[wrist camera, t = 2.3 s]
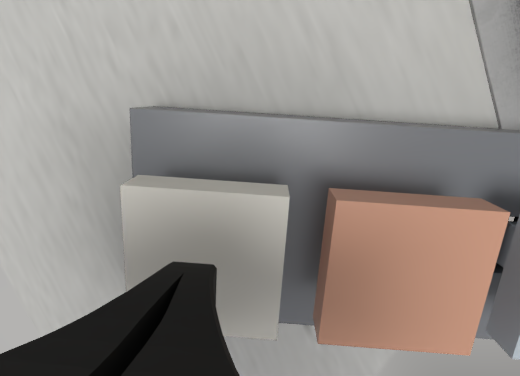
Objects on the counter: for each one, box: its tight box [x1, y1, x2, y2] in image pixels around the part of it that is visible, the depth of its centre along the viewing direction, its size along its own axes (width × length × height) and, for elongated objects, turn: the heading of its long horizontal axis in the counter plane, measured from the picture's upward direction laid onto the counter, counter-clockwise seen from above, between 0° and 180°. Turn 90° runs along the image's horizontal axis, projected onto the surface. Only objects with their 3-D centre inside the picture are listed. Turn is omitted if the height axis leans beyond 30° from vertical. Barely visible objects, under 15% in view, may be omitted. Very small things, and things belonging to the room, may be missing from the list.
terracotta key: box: [313, 188, 511, 355], centre depth 13 cm, size 6×6×4 cm
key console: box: [130, 106, 520, 339], centre depth 16 cm, size 10×22×3 cm, turn 86°
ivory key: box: [120, 175, 290, 340], centre depth 13 cm, size 6×6×4 cm
